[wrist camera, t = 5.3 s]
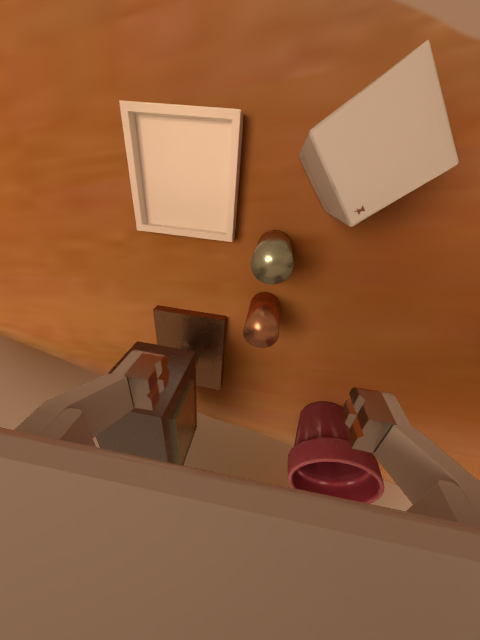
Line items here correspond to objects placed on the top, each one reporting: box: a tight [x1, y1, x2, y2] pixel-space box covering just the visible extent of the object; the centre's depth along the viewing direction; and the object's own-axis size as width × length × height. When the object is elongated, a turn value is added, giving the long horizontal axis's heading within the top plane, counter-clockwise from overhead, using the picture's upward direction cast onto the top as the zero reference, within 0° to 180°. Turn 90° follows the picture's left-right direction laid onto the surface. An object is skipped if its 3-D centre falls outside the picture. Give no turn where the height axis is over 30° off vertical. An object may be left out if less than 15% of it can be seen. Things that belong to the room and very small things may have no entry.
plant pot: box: [288, 402, 384, 504], centre depth 41 cm, size 14×14×13 cm
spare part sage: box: [251, 230, 293, 284], centre depth 28 cm, size 4×4×8 cm
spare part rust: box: [243, 292, 279, 348], centre depth 33 cm, size 4×4×8 cm
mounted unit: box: [96, 305, 226, 465], centre depth 35 cm, size 12×16×20 cm
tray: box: [119, 100, 244, 242], centre depth 28 cm, size 13×13×2 cm
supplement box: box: [299, 40, 459, 227], centre depth 21 cm, size 7×7×13 cm
